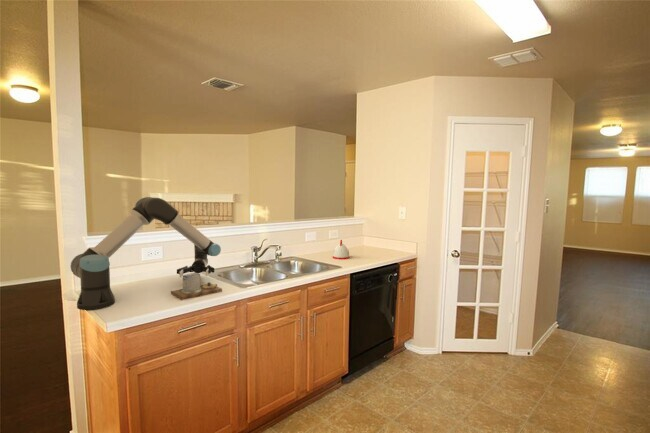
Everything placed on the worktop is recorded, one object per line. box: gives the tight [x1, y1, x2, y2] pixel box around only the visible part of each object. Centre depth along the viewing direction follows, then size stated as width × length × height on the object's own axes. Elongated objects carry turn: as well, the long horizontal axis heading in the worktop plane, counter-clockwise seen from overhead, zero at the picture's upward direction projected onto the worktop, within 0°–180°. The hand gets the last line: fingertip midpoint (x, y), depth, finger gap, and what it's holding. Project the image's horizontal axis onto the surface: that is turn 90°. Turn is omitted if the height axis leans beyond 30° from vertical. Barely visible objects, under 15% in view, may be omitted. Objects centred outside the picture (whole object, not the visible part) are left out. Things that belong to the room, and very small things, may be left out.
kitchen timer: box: [332, 239, 350, 261], centre depth 289 cm, size 14×14×15 cm
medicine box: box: [182, 272, 201, 292], centre depth 186 cm, size 8×4×9 cm, turn 147°
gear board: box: [170, 282, 223, 301], centre depth 188 cm, size 22×14×4 cm, turn 135°
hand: (193, 274), depth 190 cm, fingers open, 13 cm apart
